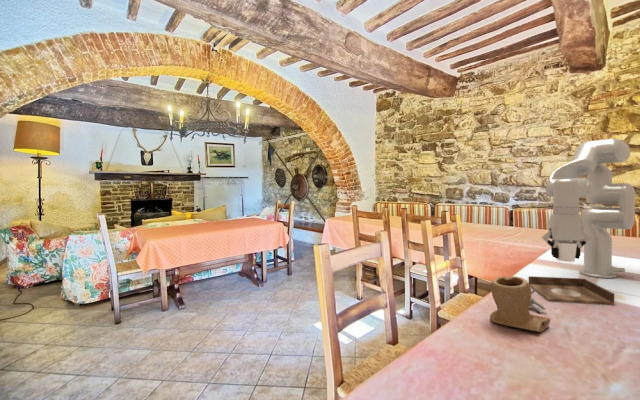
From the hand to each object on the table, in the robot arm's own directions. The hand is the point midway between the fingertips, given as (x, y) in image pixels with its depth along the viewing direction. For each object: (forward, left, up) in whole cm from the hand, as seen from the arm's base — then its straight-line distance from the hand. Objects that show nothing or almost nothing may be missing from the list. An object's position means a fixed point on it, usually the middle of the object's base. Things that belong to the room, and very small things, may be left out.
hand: (565, 257), depth 117 cm
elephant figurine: (+18, +16, -15) cm, 29 cm away
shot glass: (0, 0, -1) cm, 1 cm away
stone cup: (+27, +32, -15) cm, 45 cm away
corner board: (-1, -1, -15) cm, 15 cm away
